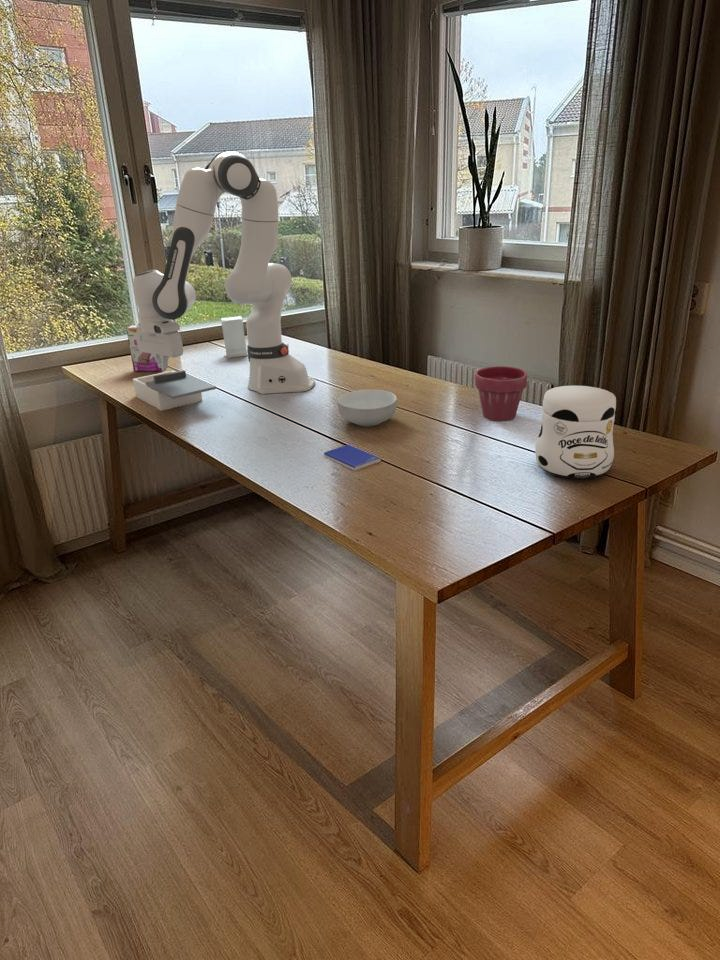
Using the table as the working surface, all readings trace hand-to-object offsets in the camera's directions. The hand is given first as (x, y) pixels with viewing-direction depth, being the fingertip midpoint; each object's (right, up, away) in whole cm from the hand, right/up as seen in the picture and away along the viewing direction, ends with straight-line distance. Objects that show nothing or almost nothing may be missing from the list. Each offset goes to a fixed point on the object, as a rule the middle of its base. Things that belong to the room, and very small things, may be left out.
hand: (163, 367), depth 216 cm
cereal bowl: (+65, -20, -24) cm, 72 cm away
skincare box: (+14, +13, +51) cm, 54 cm away
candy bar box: (-15, +5, +35) cm, 39 cm away
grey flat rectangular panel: (+8, -7, -8) cm, 14 cm away
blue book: (+61, -31, -48) cm, 84 cm away
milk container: (+113, -34, -59) cm, 131 cm away
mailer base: (+1, -10, +2) cm, 10 cm away
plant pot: (+103, -18, -24) cm, 107 cm away
